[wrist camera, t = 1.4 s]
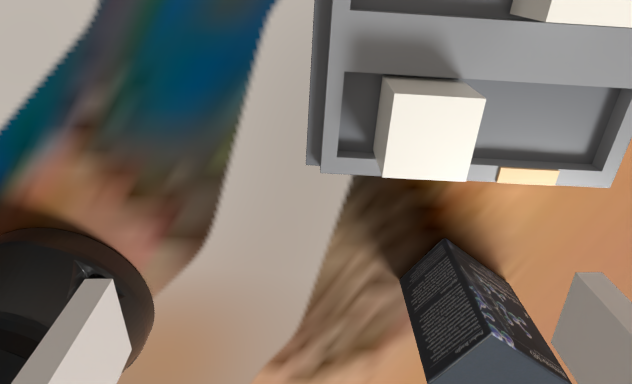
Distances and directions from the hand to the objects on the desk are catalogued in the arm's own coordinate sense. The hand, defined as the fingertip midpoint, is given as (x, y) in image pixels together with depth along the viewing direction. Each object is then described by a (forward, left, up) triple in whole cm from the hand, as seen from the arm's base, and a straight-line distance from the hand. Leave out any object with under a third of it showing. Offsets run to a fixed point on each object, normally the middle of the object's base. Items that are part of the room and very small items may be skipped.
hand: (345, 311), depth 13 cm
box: (+12, -14, -19) cm, 26 cm away
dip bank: (+10, +5, -19) cm, 22 cm away
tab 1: (+6, +1, -18) cm, 19 cm away
